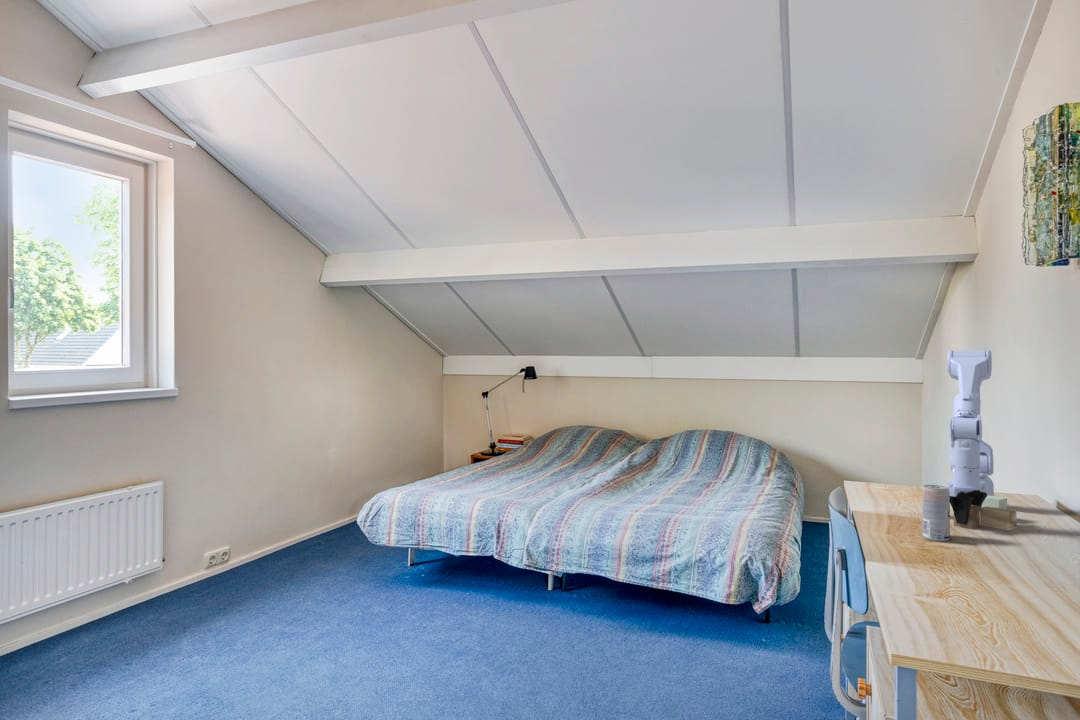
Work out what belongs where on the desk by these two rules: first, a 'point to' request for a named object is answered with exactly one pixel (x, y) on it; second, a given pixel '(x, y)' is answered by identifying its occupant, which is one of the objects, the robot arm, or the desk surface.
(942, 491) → the energy drink
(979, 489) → the robot arm
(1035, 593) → the desk surface
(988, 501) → the sage block
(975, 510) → the walnut block
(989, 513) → the base block
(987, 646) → the desk surface
